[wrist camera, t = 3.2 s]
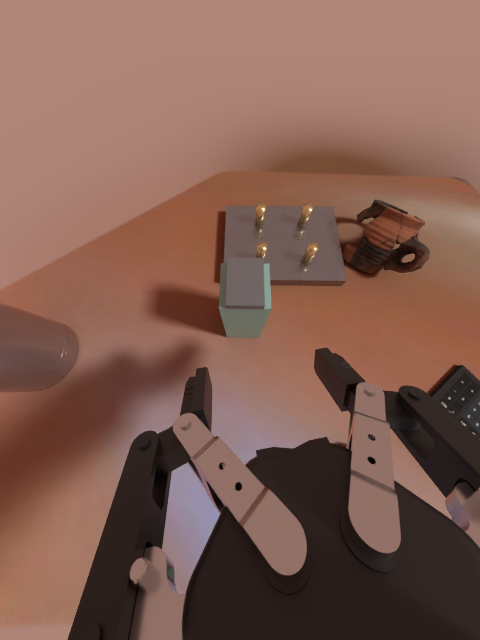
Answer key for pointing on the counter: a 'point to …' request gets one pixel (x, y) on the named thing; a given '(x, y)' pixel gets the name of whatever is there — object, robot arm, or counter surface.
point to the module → (244, 296)
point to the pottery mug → (387, 241)
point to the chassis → (287, 242)
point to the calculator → (461, 398)
